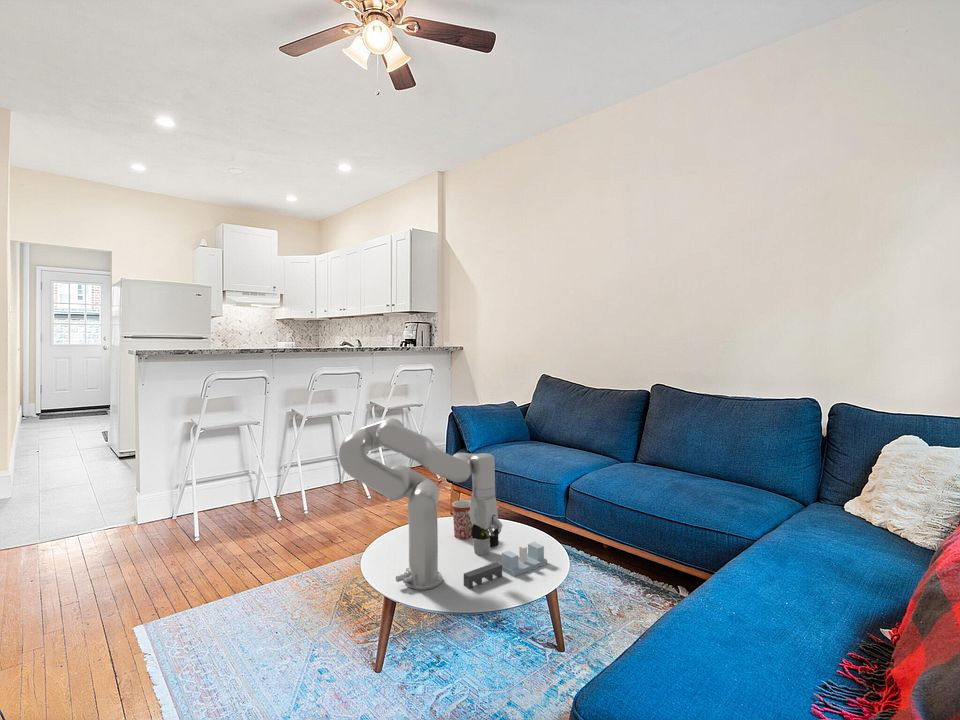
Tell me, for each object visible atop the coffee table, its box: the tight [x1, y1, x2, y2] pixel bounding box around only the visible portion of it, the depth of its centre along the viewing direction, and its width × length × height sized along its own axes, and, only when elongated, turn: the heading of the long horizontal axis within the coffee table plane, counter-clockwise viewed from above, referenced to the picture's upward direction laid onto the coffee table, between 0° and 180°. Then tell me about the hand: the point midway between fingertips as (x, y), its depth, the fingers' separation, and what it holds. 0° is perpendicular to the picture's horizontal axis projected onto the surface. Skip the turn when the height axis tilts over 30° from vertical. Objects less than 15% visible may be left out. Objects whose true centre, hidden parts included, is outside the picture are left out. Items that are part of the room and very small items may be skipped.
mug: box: [451, 499, 472, 540], centre depth 205 cm, size 13×9×14 cm
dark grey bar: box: [463, 561, 503, 590], centre depth 167 cm, size 14×3×4 cm, turn 127°
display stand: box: [499, 541, 548, 577], centre depth 178 cm, size 16×8×7 cm, turn 127°
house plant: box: [464, 511, 494, 556], centre depth 189 cm, size 14×14×16 cm
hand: (485, 541), depth 167 cm, fingers open, 9 cm apart
